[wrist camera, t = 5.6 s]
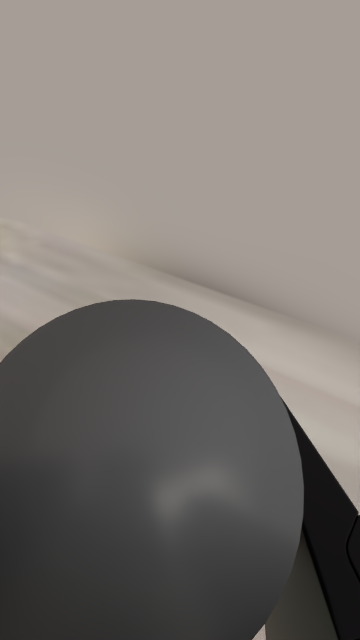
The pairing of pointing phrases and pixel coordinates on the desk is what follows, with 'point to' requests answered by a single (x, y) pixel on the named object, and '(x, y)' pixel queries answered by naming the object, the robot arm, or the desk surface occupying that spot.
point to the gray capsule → (142, 480)
